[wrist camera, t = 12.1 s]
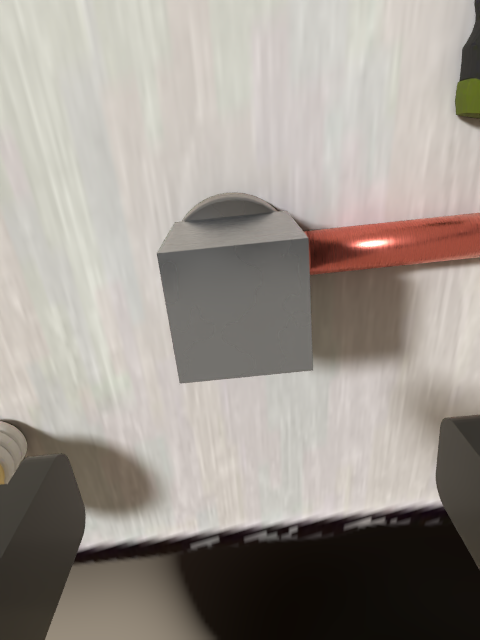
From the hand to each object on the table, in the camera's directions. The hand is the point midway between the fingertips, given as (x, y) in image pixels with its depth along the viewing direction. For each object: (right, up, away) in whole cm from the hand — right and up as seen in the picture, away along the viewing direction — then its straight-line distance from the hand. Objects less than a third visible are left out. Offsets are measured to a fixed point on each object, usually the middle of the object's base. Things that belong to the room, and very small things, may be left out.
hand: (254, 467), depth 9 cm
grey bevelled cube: (0, +6, +13) cm, 14 cm away
